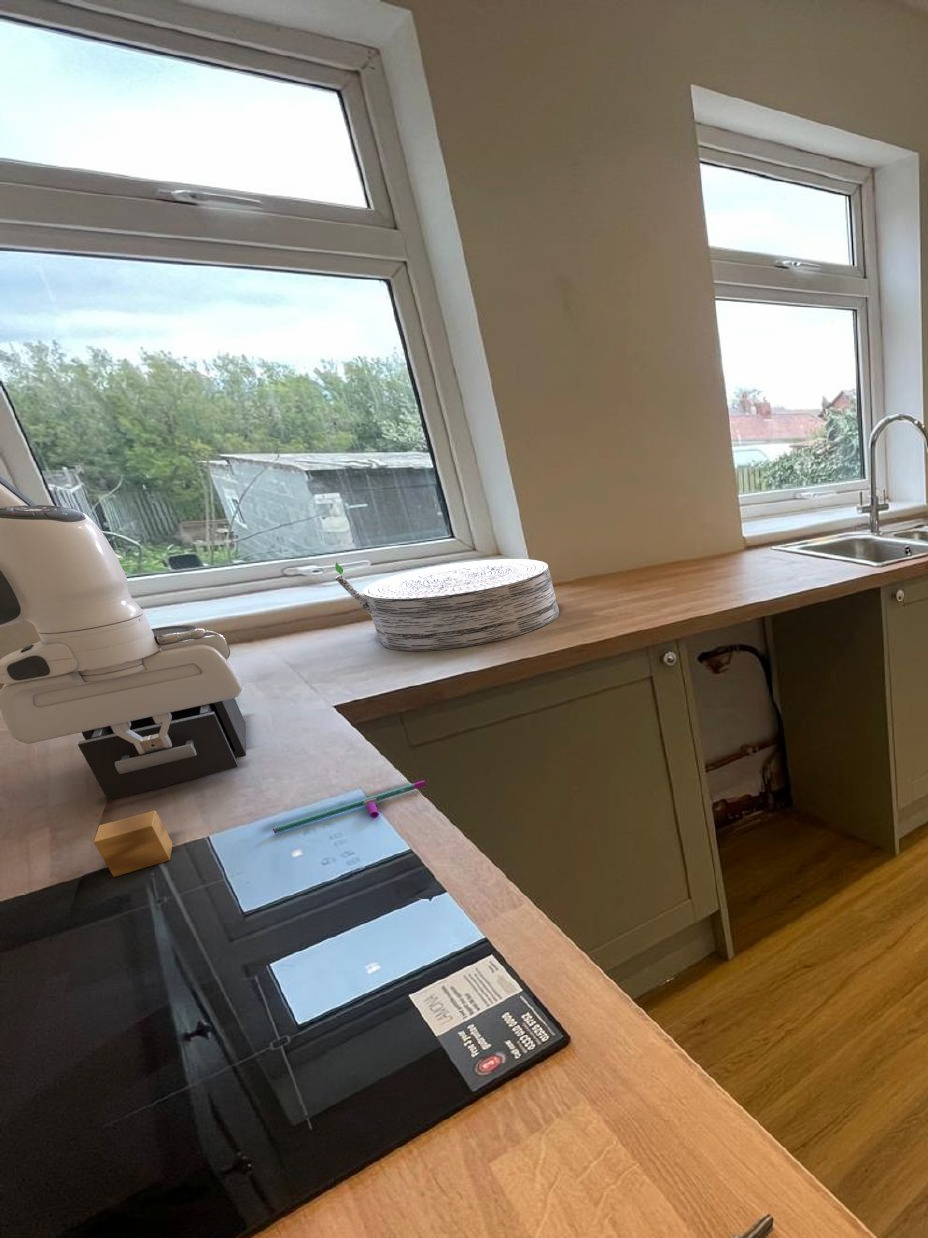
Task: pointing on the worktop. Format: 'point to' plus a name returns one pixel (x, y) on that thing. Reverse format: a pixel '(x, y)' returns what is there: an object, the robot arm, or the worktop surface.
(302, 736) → the worktop surface
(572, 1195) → the worktop surface
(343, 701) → the worktop surface
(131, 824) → the block
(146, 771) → the mini dresser drawer
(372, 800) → the green rod
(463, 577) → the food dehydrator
